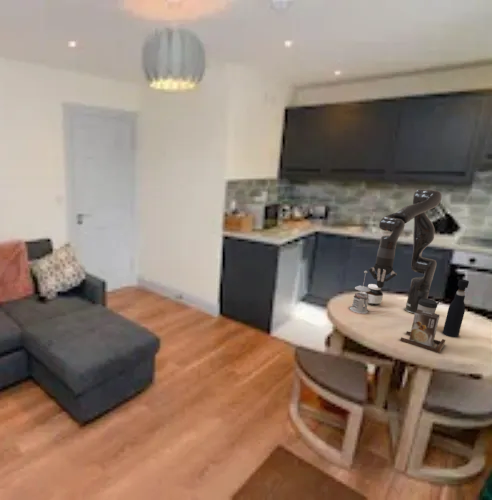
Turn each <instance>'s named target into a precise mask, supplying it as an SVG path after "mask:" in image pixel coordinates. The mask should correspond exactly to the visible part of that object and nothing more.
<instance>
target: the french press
mask: <svg viewBox="0 0 492 500" xmlns="http://www.w3.org/2000/svg"><path fill="white" fill-rule="evenodd" d="M363 273H364V276H366V274H368V273H369V272H368V271H367V270H364V271H363ZM365 280H366V277H364V278H363V281H365ZM364 285H365V282H363V283H362V285H357V286H355V287H354V289H355V290H356V291H358V292H355V293H354V295H353V298H352V299H353V300H352V304H351V305H352V306H350V307H349V310H350V312H351V311H352V312H354V313H355V314H356V313H357V314H363V315H365V314H368V313H369V311H368V305H369V304H368V300H369V298H370V296H368V295H369V294H367V295H366V294H362V293H360V292H361V291H362V292H369V291H371V290H370V289H369V288H368V286H364ZM368 297H369V298H368ZM360 299H364V300H366V299H367V300H366V301H364V300H360ZM369 303H370V301H369ZM369 306H370V305H369Z"/></svg>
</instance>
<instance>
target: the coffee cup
mask: <svg viewBox="0 0 492 500" xmlns="http://www.w3.org/2000/svg"><path fill="white" fill-rule="evenodd" d="M437 302H438V301H436V300H434V299H430V298H428V299H425V298H421V299H420V300H419V301H418V309H419V310H423V311H427V312H430V313H434V314H436V311H437V308H438V304H437ZM418 309H417V310H418Z"/></svg>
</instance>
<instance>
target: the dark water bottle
mask: <svg viewBox="0 0 492 500" xmlns="http://www.w3.org/2000/svg"><path fill="white" fill-rule="evenodd" d="M469 285H470V281H469V280H468V279H463V278H461V279H458V282H457V287H458V289H457V291H456V293H455V295H454V298H453V300H452V301H451V302H450V304H449V306H448V309H447V313H446V317H445V322H444V325H443V329H442V334H443V335H444V336H446V337H450V338H458V337H459V335H460V333H461V332H460V331H461V328H462V324H463V320H464V317H465V312H466V304H465V298H466V292H465V291H466V289H468V288H469Z"/></svg>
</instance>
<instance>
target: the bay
mask: <svg viewBox="0 0 492 500" xmlns="http://www.w3.org/2000/svg"><path fill="white" fill-rule="evenodd" d="M405 335H407V336H410V335H411V331H409V330H406V332H405ZM400 341H401V342H403V343H407V344H408V345H409V344H410V345H413V346H416V347H418V348H423V349H425V350H428V351H430V352H431V351H432V352H434V353H437V354H440V353H441V351H442V349H443V348H444V346H445V344H446V339H444V338H442V339H441V340H437V339H434V343H433V344H436V345H437V346H436V347H434V346H432V347H430V346H427V345H424V344H421V343H418V342H415V341H411V340H409V339H408V338H405V337H402V336H401V337H400Z"/></svg>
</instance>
